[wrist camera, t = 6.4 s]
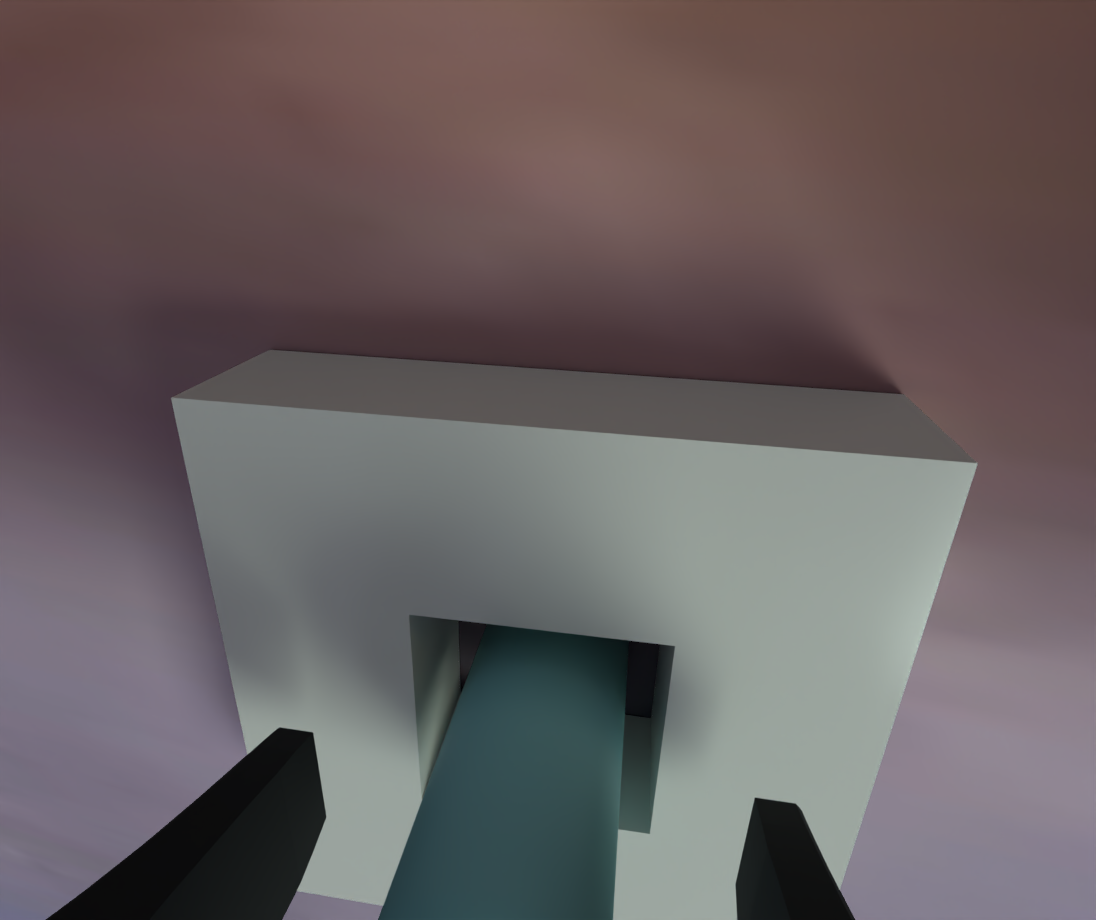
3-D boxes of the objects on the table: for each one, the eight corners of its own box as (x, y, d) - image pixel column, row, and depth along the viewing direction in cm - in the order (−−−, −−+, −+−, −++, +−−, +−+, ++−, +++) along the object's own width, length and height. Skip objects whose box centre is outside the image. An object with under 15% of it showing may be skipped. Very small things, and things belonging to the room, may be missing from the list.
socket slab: (904, 394, 12) (978, 463, 9) (785, 848, 17) (810, 980, 14) (270, 349, 13) (170, 397, 11) (332, 779, 18) (275, 887, 16)
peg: (643, 593, 14) (633, 932, 8) (612, 702, 16) (583, 1066, 9) (499, 559, 15) (378, 865, 8) (480, 671, 16) (365, 1006, 10)
